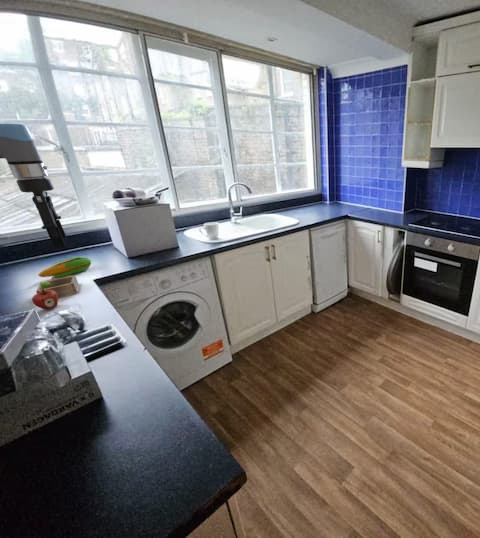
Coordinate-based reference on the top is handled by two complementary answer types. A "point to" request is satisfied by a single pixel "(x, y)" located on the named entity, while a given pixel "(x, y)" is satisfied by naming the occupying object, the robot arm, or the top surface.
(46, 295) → the apple
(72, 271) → the corn
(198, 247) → the top surface
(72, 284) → the wooden crate
